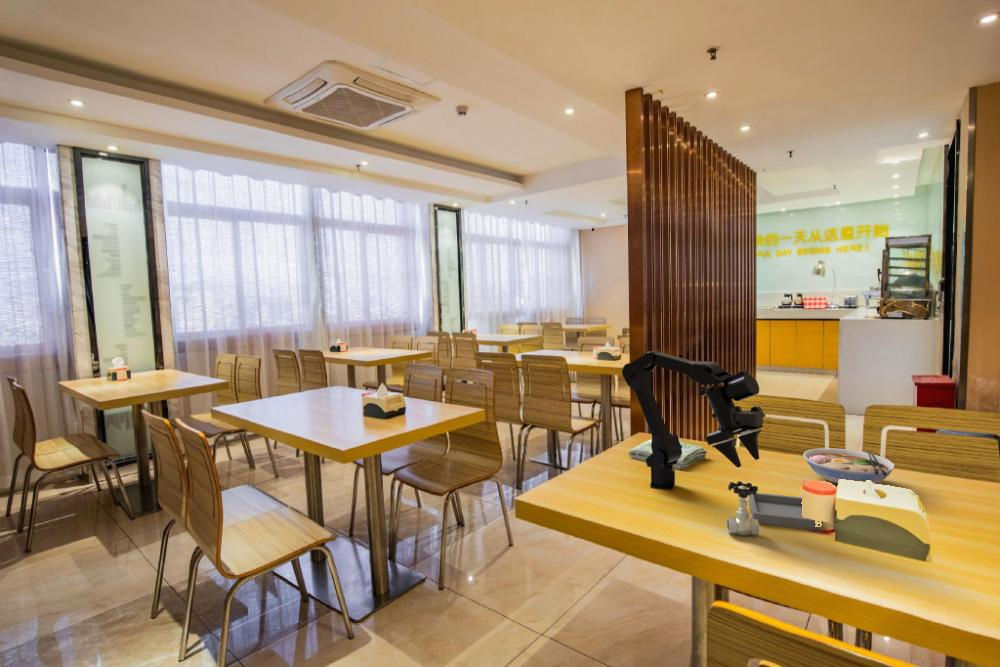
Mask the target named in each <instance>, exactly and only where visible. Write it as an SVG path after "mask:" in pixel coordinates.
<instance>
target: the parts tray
mask: <svg viewBox="0 0 1000 667" xmlns="http://www.w3.org/2000/svg"><path fill="white" fill-rule="evenodd" d="M802 497H803V496H802ZM802 497H801V496H792V495H783V494H782V495H781V494H774V493H773V494H772V493H764V492H763V493H762V492H757V494H752V495H749V496H748V500H747V502H748V503H749V505H748V506H749V509H750V514H751V517H752V518H751V519H757V520H758V523H759V525H764V526H765V525H766V526H774V527H775V526H776V527H782V528H791V529H801V530H807V531H816V532H823V528H824V526H823V525H822V526H821V527H815V525H816V524H815V520H812V519H809V518H803V516H802V504H801V502H802ZM818 522H819V521H818ZM821 523H823V520H822V522H821ZM823 524H824V523H823ZM818 526H820V524H818Z"/></svg>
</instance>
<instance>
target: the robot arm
mask: <svg viewBox="0 0 1000 667" xmlns="http://www.w3.org/2000/svg"><path fill="white" fill-rule="evenodd" d="M656 367H659V368H663V369H666V370H670V371H672V372H676V373H680V374H683V375H685V376H687V377H688V378H689V379H690V380H692V381H693V382H694V383H695V382H696V383H697V384H699V385H701V388H700V391H699V392H698V397H703V396H706V397H707V400H708V402H709V404H710V407H711V408H712V412H713V413H712V414H711V417H712V419H714V418H716V420H717V422H718V425H719V427H720V428H717V430H716V431H713V432H710V433H707V434H706V437H705V440H706V442H707V445H708V446H710V445H712V448H715V449H716V450H717V451H718V452H719V453H721V454H722V455H723V456H724V457H725V458H726V459H728V460H729V461H730V462H731V463H732V465H734V466H735V467H736V468H741V467H742V463H741V459H740V457H739V454H738V451H737V448H736V442H737V439H739V441H740V442H741V443H742V445H743V446H744V448H745V449H746V451H747V452H749V454H750V455H751V457H752V458H753V459H754V461H757V460H759V459H760V452H759V443H758V442H759V441H758V437H759V435H760V433H761V432H762V428H764V426H763V425H764V418H766V414H765V413H764V410H763V409H762V408H761V406H751V408H750V409H748V410H742V407H741V406H740V405H736V404H735V402H739V401H742V400H746V399H748V398H751V397H754V396H757V395H758V394H760V386H759V382H758V381H757V380H756V379H755V378H754V377H753V376H752V374H750V373H749V372H748V370H747V369H746V370H742V371H738V372H737V373H736V374H731V373H730V372H728V371H726V370H725V369H723V367H722V366H721V364H720V363H718V362H716V361H701V360H699V361H698V360H690V359H688V358H683V357H679V356H677V355H672V354H669V353H665V352H662V351H659V350H652V351H650V350H649V351H647V352H646V353H644V354H643V355H642V356H640V357H638V358H636V359H635V360H633V361H631V362H628V363H626V364H624V365H623V367H622V370H621V375H622V377H623V379H624V381H625V383H626V384H627V386H628V387H629V388H630V389H631V390H632V391H634V393H635V395H636V398H637V400H638V404H639V405H640V409H641V411H642V413H643V415H644V419H645V421H646V424H647V426H648V429H649V432H650V435H651V439H652V441H651V448H652V454H651V455H650V456H649V457H648V458H647V459H646V461H645V464H646V466H647V467H648V468H650V485H649V487H650V488H654V489H656V488H657V489H664V490H673V489H674V486H675V484H676V469H674V468H673V465H674V464H677V461H678V459H680V457H681V454H682V449H681V448H682V445H681V444H680V442H679V441H680V438H679V437H678V435H677V434H672V433H671V432H669V431H668V430H669V429H668V428H667V426H666V424H665V420H664V417H663V416H662V412H661V410H660V408H659V405H658V403H657V400H656V398H655V395H654V392H653V391H652V387H651V383H652V375H651V374H652V373H651V372H652V371H653V370H655V369H656ZM720 384H723V385H720ZM707 385H711V386H707ZM734 401H735V402H734ZM735 435H739V436H737V437H736V438H735Z"/></svg>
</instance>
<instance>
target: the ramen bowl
mask: <svg viewBox="0 0 1000 667" xmlns="http://www.w3.org/2000/svg"><path fill="white" fill-rule="evenodd" d="M802 455H803V457H804V459H805V461H806V463H807V464H808V465H809V467H810V468H811V469H812V471H814V473H815V474H817V475H818V476H820V477H822V478H824V479H825V480H828V481H830V482H832V483H834V484H836V485H838V484H837V483H838V480H839V479H846V480H854V481H863V482H865V481H866V480H871V481H872V482H873V483H875V484H878V483H880V482H882V481H884V480H885V479H886V478H887V477H889V475H890V474H891V473H892V472H893V470H894V468H895V466H896V464H894V462H892V461H891V460H890V459H888V458H885V457H883V456H879V455H877V454H873V452H872V451H871V450H870V449H869V450H868V449H866V452H864V451H860V450H853V449H845V448H832V447H827V448H825V447H824V448H812V449H809V450H806V451H804V452H803V453H802Z"/></svg>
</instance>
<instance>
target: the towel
mask: <svg viewBox="0 0 1000 667" xmlns="http://www.w3.org/2000/svg"><path fill="white" fill-rule="evenodd" d="M651 441H652V438H651V439H649V440H647V441H644V442H642V443H641V444H637V446H635V447H633V448H631V449H630V450H629V451H628V456H629V458H631V459H635V460H638V461H642V462H646V459H647V458H648V457H649V456H650V455H651V454H652V448H651ZM679 442H680V444H681V445H682V448H681V449H682V454H681V457H680V459H678V461H677V464H674V465H673V469H674V470H684V469H686V468H688V467H689V466H691V465H693V464H695V463H696V462H698V461H700V460H701V461H702V460H703V459H704V458H706V455H708V451H706V450H705V449H704V447H703V446H701V445H695V444H691V443H687V442H684V441H681V440H679Z"/></svg>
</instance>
